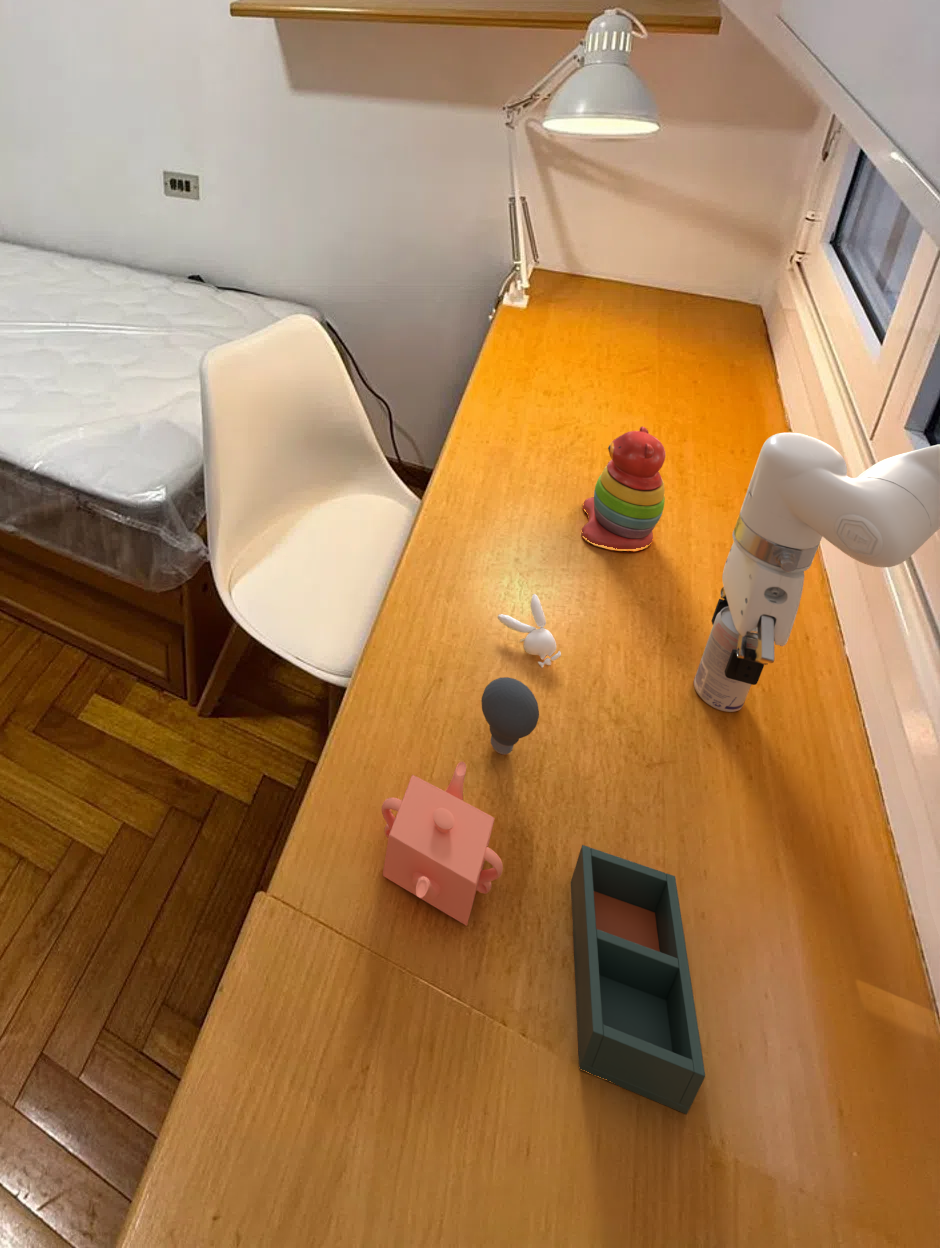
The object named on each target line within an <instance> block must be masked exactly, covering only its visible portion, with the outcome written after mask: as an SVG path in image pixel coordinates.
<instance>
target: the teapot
mask: <svg viewBox="0 0 940 1248" xmlns="http://www.w3.org/2000/svg"><path fill="white" fill-rule="evenodd" d="M466 773H467V764H466V762H464V761H459V762H458V763H457V765H456V766H455V769H454V771H453V775H452V778H451V780H450V782H449V784H448V786H447V788H446V789H445V790H443V789H441V788H439V787H437V786H436V785H434V784H432V783H430V782H428V781H427V780H425V779H422V778H420V777H419V776H417V775H415V774H411V776H410V779H409V782H408V785H407V787H406V790H405V792H404V795H403V797H402V799H400V798H398V797H388V798H386V799H385V800H384V801H383V802H382V805H381V814H382V817H383V819H384V821H385V823H386V824H385V827H384V835H385V837H386V838H387V844H386V850H385V851H386V852H385V858H384V864H383V869H382V870H383V871H382V877H384V878H386V879H388V880H389V881H391V882H392V883H394V884H396V885H398V886H399V887H401V889H404V890H406V891H407V892H409V893H411V894H412V895H414V896H416V897H418V898H419V899H420V900H422V901H424V902H426V903H427V904H429V905H431V906H432V907H434V908H436V909H438V910H439V911H440V912H442V913H444V914H446V915H448V916H449V917H450V918H453V919H454V920H456V921H457V922H459V923H461V924H463V925H464V926H466V927H467V926H468V924H469V919H470V917H471V913H472V909H473V905H474V901H475V898H476V894H477V892H479V893H481V894H489V893H490V891H491V889H492V882H493V881H496V880H498V879H499V878H501V876H502V875H503V869H504V866H503V865H504V864H503V862H502V861H503V860H502V859H501V858H500V856H499V855H498V854H497V853H496V851H494V850H493V849H492V848H490V847H489V845H490V840H491V837H492V832H493V827H494V824H495V817H493V816H492V815H490V814H489V813H487V812H485V811H483V810H481V809H479V808H477V807H476V806H474V805H472V804H470V803H468V802H466V801H464V783H465V777H466ZM392 811H396V812H397V813H396V816H395V815H394V814H393V812H392ZM485 862H487V863H489V864H490V865H491V866H492V867H491V868H485V869H483V868H484V865H485Z"/></svg>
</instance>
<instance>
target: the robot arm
mask: <svg viewBox="0 0 940 1248" xmlns="http://www.w3.org/2000/svg"><path fill="white" fill-rule="evenodd" d="M847 473H848V465H847V463H846V460H845V458H844V457H843V455H842V454H841V453H840V452H839V451H838V450H837V449H835V448H834V447H833V446H831V445H830V444H828V443H826V442H825V441H823V440H820V439H818V438H816V437H814V436H810V435H807V434H803V433H797V432H779V433H775V434H773V435H771V436H770V437H768V438H767V439H766V440H765V442H764V443H763V445H762V447H761V449H760V452H759V454H758V457H757V460H756V464H755V466H754V469H753V473H752V476H751V478H750V481H749V484H748V487H747V489H746V494H745V496H744V499H743V502H742V505H741V508H740V510H739V513H738V515H737V518H736V522H735V525H734V528H733V531H732V540H733V543H732V545H731V547H730V550H729V551H728V555H727V557H726V560H725V563H724V567H723V572H722V575H721V576H722V577H721V578H722V586H723V587H721V589H720V594H719V595H720V598H718V601H717V603H716V606H715V609H714V612H713V615H712V619H711V625H713V624H714V621H715V618H716V616H717V614H718V613H719V612H720V611H721V610H722V609H723V608H724V607H727V606H729V609H730V612H731V616H732V619H733V622H734V625H735V628H736V630H737V631H738V632H739V637H738V644H737V650H736V649H733V650H732V653H731V655H730V658H729V661H728V663H727V666H726V669H725V676H726V677H727V678H729V679H733V680H737V681H740V682H744V683H748V684H751V686H756V685H757V684H758V682H759V681H760V677H761V675H762V672H763V669H764V667H765V665H766V666H767V665H769V664H774V662H775V645H776V646H780V647H784V646H786V645H787V643H788V641H789V639H790V637H791V633H792V630H793V627H794V623H795V621H796V617H797V614H798V610H799V607H800V603H801V600H802V599H801V598H802V595H803V589H804V582H805V571H808V570H809V569H810V567H811V566H812V564H813V561H814V559H815V556H816V554H817V551H818V550H819V549H818V548H819V546H820V543H821V541H822V539H823V538H824V539H825V540H826V541H827V542H829V543H830V544H831V545H833V546H834V547H835V548H837V549H838V550H839V551H841V552H842V553H844V554H845V555H846V556H849V557H850V558H851V559H853V560H855V561H857V562H859V563H862V564H864V565H866V566H871V567H874V568H892V567H896V566H898V565H900V564H903V563H905V561H907V560H908V559H909V558H911V557H912V556H913V555H914V554H915V553H916V552H917V551H918V550H919V549H920V548H921V547H922V546H923V545H924V544H925V543H927V541H928V540H929V539H931V537H932V536H933V535H934V534H936V532H938V530H940V443H937V444H935V445H931V446H927V447H923V448H919V449H915V450H911V451H907V452H904V453H903V452H902V453H901V454H897V455H893V456H891V457H887V458H884V459H882V460H880V461H878V462H876V463H874V464H873V465H871V466H870V467H868V468H867V469H865V470H864V471H862V472H861V473H860V474H858V475H857V476H856V477H850V476H848V475H847ZM756 627H758V632H756V631H752V630H753V629H754V628H756ZM748 637H749V638H753V639H757V640H758V646H757V648H756V649H755V650H754V649H749V648H746V645H747V638H748Z"/></svg>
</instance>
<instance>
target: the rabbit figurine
mask: <svg viewBox="0 0 940 1248" xmlns="http://www.w3.org/2000/svg"><path fill="white" fill-rule="evenodd" d="M530 611H531V614H532V617H533V620H534V623H535V624H536V626H537V627H539V628H537V627H535V626H533V625H529V624H527V623H524V622H521V621H520V620H518V619H516V618H514V617H512V616H510V615H508V614H503V613H501V614H498V615H497V619H498V621H499V622H500V623H501V624H503V625H504V626H506V627H507V628H509V629H510V630H513V631H516V632H518V633H522V634H527V635H526V636H525V637H524V638H521V639H519V642H523V650H524V652H526V653H527V654H529V655H532V656H539V659H541V660H543V662H542V661H537V664H538V665H539V666H540V668H542V669H543V668H544V666H545V665H547V666H551V665H552V662H554V661H556V660H558V659H559V658H560V657H561V656H562V652H561V650H558V651H557V642H556V639H555V637H554V634H552V632H551V631H550V630H549V629H546V628H545V627H546V624H547V620H546V615H545V613H544V609H543V605H542V602H541V599H540V598H539V596H538V595H537V594H535V593H533V594H532V597H531V600H530ZM556 651H557V653H556ZM554 653H555V654H554ZM546 656H548V657H546ZM549 657H550V658H549Z"/></svg>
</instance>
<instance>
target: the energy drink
mask: <svg viewBox="0 0 940 1248" xmlns="http://www.w3.org/2000/svg"><path fill="white" fill-rule="evenodd" d="M752 631H756V632H758V627H756V628H754V629H753V630H752ZM738 637H739V632H738V631H737V630H736V628H735V625H734V622H733V619H732V616H731V612H730V609H729V606H727V607H724V608H723V609H722V610H721V611H720V612H719V613H718V614H717V616H716V618H715V621H714V624H712V627H711V629H710V633H709V636H708V639H707V641H706V644H705V647H704V650H703V653H702V656H701V659H700V661H699V664H698V667H697V670H696V673H695V676H694V679H693V687H694V691H695V692H696V693H697V695H698V696H699V698H700V699H702V700H703V702H705V703H706V704H707V705H708V706H710V707H712V708H714V709H716V710H718V711H721V712H724V713H725V712H726V713H734V712H738V711H740V710H741V709H743V707H744V704H745V702H746V699H747V697H748V695H749V691H750V689H751V688H752V687H751V686H752V684H748V683H744V682H740V681H737V680H733V679H729V678H727V677H726V676H725V669H726V666H727V663H728V661H729V658H730V655H731V653H732V650H733V649H736V650H737V644H738ZM757 646H758V640H757V639H753V638H749V637H748V638H747V645H746V648H749V649H754V650H755V649H756V648H757Z"/></svg>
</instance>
